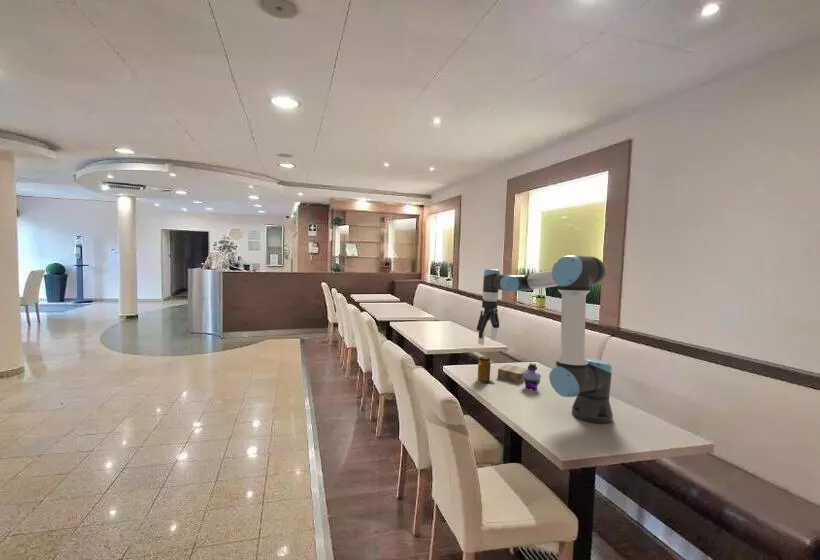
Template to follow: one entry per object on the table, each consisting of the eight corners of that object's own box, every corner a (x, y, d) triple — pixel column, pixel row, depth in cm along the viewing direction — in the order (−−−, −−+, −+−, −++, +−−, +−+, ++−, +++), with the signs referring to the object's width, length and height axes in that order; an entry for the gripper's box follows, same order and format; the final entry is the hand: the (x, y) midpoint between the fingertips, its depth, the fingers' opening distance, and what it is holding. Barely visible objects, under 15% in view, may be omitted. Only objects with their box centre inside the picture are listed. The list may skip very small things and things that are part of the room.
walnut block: (528, 378, 207) (529, 369, 206) (519, 383, 197) (520, 374, 197) (506, 373, 214) (507, 364, 214) (497, 378, 204) (498, 368, 204)
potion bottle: (539, 392, 185) (540, 367, 184) (520, 389, 188) (521, 364, 188) (541, 387, 193) (543, 363, 192) (523, 383, 196) (525, 360, 195)
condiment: (476, 378, 202) (477, 355, 201) (492, 379, 201) (494, 356, 200) (477, 383, 195) (478, 359, 194) (494, 384, 194) (496, 360, 193)
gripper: (494, 297, 207) (491, 337, 209) (471, 301, 187) (468, 344, 189) (507, 299, 202) (504, 339, 204) (485, 303, 183) (482, 347, 184)
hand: (487, 342), depth 197 cm, fingers open, 13 cm apart
